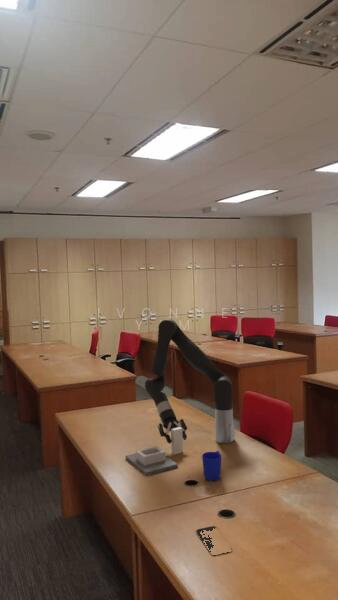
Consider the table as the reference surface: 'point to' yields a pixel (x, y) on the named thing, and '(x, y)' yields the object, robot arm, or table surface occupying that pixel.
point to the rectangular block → (176, 440)
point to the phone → (205, 537)
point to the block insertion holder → (151, 460)
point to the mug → (212, 465)
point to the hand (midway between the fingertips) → (178, 441)
